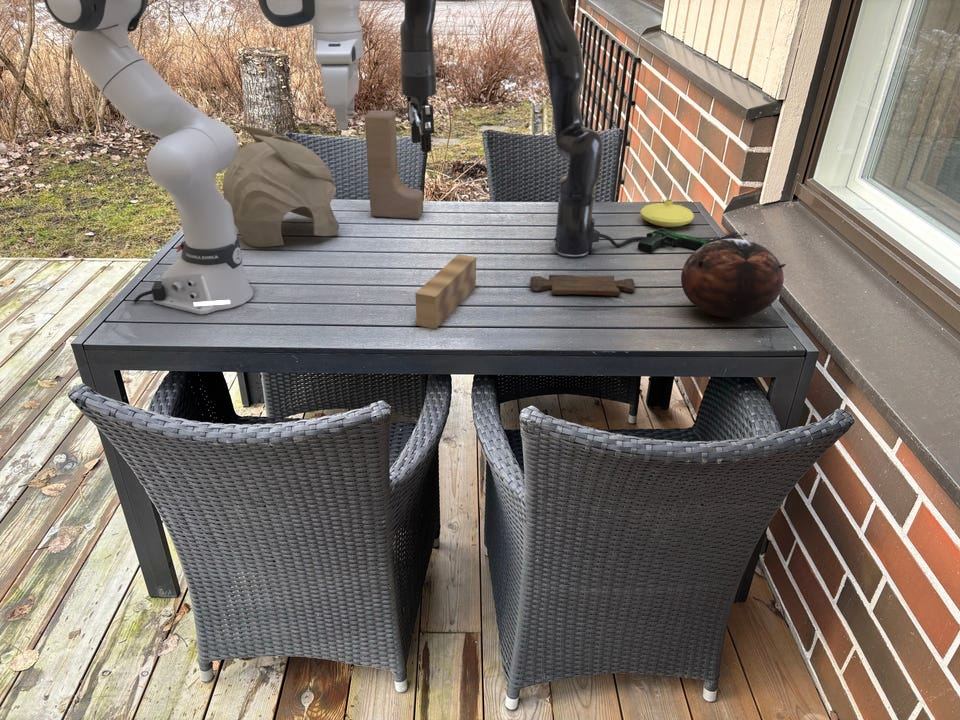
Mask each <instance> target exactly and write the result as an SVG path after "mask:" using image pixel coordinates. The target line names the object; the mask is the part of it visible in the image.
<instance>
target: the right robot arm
mask: <svg viewBox="0 0 960 720" xmlns="http://www.w3.org/2000/svg"><path fill="white" fill-rule="evenodd" d="M399 1H400V2H401V3H403V4H404V17H403V20H402V21H401V23H400V27H399V38H400V39H399V40H400V61H399V62H400V79H401V94H402V95H403V96H404V97H406V109H407V110H406V113H407V118H406V119H407V122H409V123H408V124H409V126H410V134H411V142H412V143H413V144H420V150H421V152H422V153H430V152H431V151H432V135H433V134H435V122H434V121H435V119H434V105H433V104H430V103H429V97H433V96H435V95H436V93H437V80H436V77H437V76H436V75H437V74H436V58H435V57H436V56H435V51H434V29H433V28H434V22H435V16H436V8H437V7H436V6H437V0H399ZM530 3H531V6H532V11H533V14H534V18H535V23H536V30H537V35H538V39H539V45H540V50H541V58H542V62H543V69H544V73H545V77H546V81H547V86H548V91H549V97H550V102H551V107H552V113H553V120H554V133H555V142H556V149H557V152H558V153H559V155H560V156H561V158H562V159H564V160H565V161H567V162H568V163H569V165H568V173H567V175H564V176H562V177H561V178H560V180H559V185H558V186H559V187H558V196H557V197H558V200H557V213H556V226H555V236H554V239H553V243H554V249H553V251H554V253H555V254H557V255H559V256H560V257H564V258H565V257H566V258H571V259H572V258H573V259H574V258H582V257H586V256H587V255H589V254H592V251H593V243H599V242H600V238H602V239H604V240H607V241H609V242H610V243H611V245H612V246H614V247H616V248H621V247H625V246H626V245H628V244H629V243H630V242H633V241H640V240H642V239H645V238H648V237H646V236H634V237H632V236H631V237H629V238H627V239H625V240H624V241H623V242H621V243H618V242H616V241H615V240H614V239H613V237H611V236H610V235H606V234H603V233H601V232H600V231H599V230H597V229H595V222H596V221H595V218H593V211H594V210H593V209H594V201H595V199H594V198H595V188H596V185H597V183H598V181H599V179H600V174H601V167H602V166H601V165H602V161H603V160H602V159H603V152H604V151H603V150H604V146H603V145H604V144H603V139H602V137H601V135H600V134H599V133H598V132H597V131H595V130H593V129H590V128H588V127H585V124H584V121H583V117H582V112H581V106H580V97H581V92H582V88H583V84H584V80H585V79H584V78H585V65H584V64H585V63H584V58H583V51H582V47H581V43H580V39H579V36H578V35H577V32H576V30H575V28H574V26H573V24H572V22H571V20H570V18H569V16H568V14H567V12H566V9H565V6H564V4H563V0H530ZM725 235H726V236H724V237H721V238H718V239H715V238H716V237H713V238H705V239H704V238H703V239H704V240H708V243H711V242H714V241H718V240H724V239H729V238H731V237H734V236H736V235H737V234H736V233H735V231H733V232H730V233H727V234H725ZM710 239H713V240H710Z"/></svg>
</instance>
